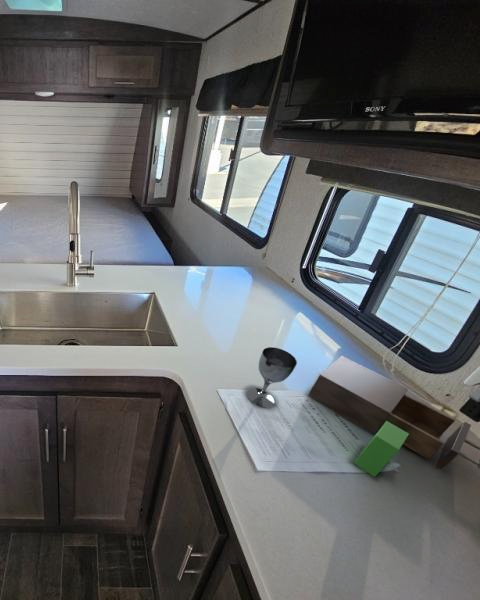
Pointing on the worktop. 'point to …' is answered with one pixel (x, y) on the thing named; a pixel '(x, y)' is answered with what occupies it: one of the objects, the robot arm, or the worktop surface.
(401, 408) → the drawer
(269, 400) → the wine glass
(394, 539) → the worktop surface
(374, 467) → the green rectangular prism
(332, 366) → the cabinet
